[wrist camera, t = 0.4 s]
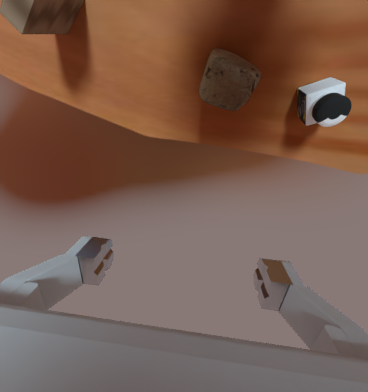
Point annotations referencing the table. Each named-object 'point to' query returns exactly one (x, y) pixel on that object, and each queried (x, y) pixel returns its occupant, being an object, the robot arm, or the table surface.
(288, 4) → the table surface
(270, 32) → the table surface
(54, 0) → the slab
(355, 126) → the table surface
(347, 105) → the medicine bottle
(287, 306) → the robot arm
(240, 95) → the block
